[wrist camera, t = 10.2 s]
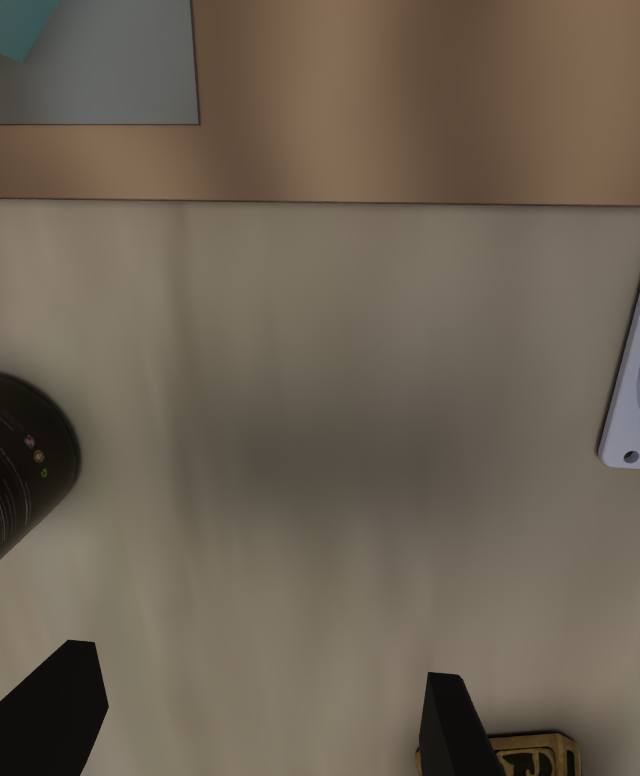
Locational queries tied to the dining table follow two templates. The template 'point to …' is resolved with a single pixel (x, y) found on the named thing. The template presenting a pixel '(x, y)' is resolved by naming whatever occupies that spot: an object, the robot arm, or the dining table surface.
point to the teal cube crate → (22, 25)
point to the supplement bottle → (30, 462)
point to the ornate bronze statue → (534, 755)
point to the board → (328, 102)
